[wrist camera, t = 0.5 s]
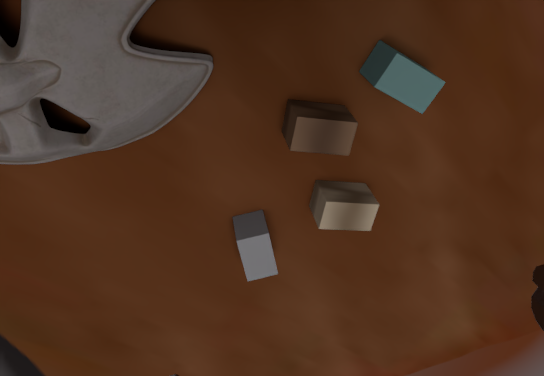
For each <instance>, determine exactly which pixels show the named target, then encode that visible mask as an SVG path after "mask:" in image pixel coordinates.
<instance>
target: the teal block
mask: <svg viewBox="0 0 544 376" xmlns="http://www.w3.org/2000/svg"><path fill="white" fill-rule="evenodd" d="M359 72H360V73H361V74H362V75H363V76H364V77H365V78H366V79H367V80H368V81H369V82H370V83H371V84H372V85H373V86H374V87H375V88H377V89H379V90H381V91H382V92H384V93H386V94H388V95H390V96H391V97H393V98H395V99H397V100H399V101H400V102H402V103H404V104H406V105H407V106H409V107H411V108H413V109H415V110H416V111H418V112H420V113H422V114H423V112H424V111H425V110H426V108H427V107H428V106H429V104H430V103H431V102H432V100H433V99H434V97H435V96H436V95H437V93H438V92H439V91H440V89H441V88H442V87H443V85H444V84H445V83H446V82H444V81H443V80H441V79H440V78H439V77H437V76H436V75H434V74H433V73H432V72H430V71H429V70H427V69H426V68H425V67H423V66H421V65H420V64H418V63H416V62H415V61H413V60H412V59H410V58H408V57H407V56H405V55H403V54H402V53H400V52H399V51H397V50H395V49H394V48H392V47H390V46H389V45H387V44H386V43H384V42H382V41H381V40H379V41H378V43H377V45H376V46H375V48H374V49H373V51H372V52H371V54H370V55H369V57H368V58H367V60H366V61H365V63H364V65H363V66H362V68H361V69H360V71H359Z"/></svg>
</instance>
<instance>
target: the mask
mask: <svg viewBox="0 0 544 376" xmlns="http://www.w3.org/2000/svg"><path fill="white" fill-rule="evenodd" d="M154 1H155V0H21V25H20V33H19V38H18V42H17V45H16V46H15V47H14V48H12V47H10V46H8V45H7V44H6V42H5V41H4V40H3V39H2V37H1V36H0V164H38V163H45V162H50V161H54V160H58V159H62V158H66V157H71V156H76V155H81V154H85V153H90V152H94V151H104V150H110V149H113V148H117V147H120V146H123V145H126V144H128V143H131V142H133V141H136V140H138V139H141V138H143V137H145V136H147V135H150V134H152V133H153V132H155V131H157V130H158V129H160V128H161V127H163V126H164V125H165V124H167V123H168V122H169V121H171V120H172V119H173V118H174V117H176V116H177V115H178V114H179V113H180V112H181V111H182V110H183V109H184V108H185V107H186V106H187V105H188V104H189V103H190V102H191V101H192V100H193V99H194V98H195V97H196V95H197V94H198V93H199V91H200V90H201V89H202V87H203V86H204V85H205V83H206V81H207V80H208V78H209V76H210V74H211V72H212V69H213V59H212V57H211V56H210V55H206V54H199V53H187V52H174V51H165V50H157V49H151V48H146V47H142V46H138V45H135V44H133V43H132V42H131V41H130V39H129V37H130V34H131V32H132V30H133V28H134V27H135V25H136V24H137V22H138V21H139V19H140V18H141V17H142V16H143V14H144V13H145V12H146V11H147V9H148V8H149V7H150V6H151V5H152V3H153V2H154ZM42 98H44V99H47V100H49V101H51V102H53V103H55V104H57V105H59V106H60V107H62V108H64V109H66V110H68V111H69V112H71V113H73V114H75V115H76V116H78V117H80V118H82V119H83V120H85V121H86V122H88V123H89V124H90V126H91V128H90V129H89V131H88V132H87V133H86V134H77V133H70V132H64V131H59V130H55V129H53V128H51V127H49V125H48V123H47V121H46V119H45V116H44V114H43V111H42V108H41V105H40V100H41V99H42Z"/></svg>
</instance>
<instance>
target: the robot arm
mask: <svg viewBox="0 0 544 376" xmlns="http://www.w3.org/2000/svg"><path fill="white" fill-rule="evenodd" d="M532 281H533V282H534V283H535V284H536V285H537V286H538V288H537V289H536V291H535V292H534V294H533V295H532V297H531V308H532V311H533V314H534V317H535V319H536V321H537V323H538V324H539V326H540V327H541V329H542V330H543V331H544V264H543V265H540V266H537V267H536V268H535V270H534V271H533V280H532ZM171 376H179V375H177V374H175V375H171Z"/></svg>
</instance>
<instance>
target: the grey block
mask: <svg viewBox="0 0 544 376" xmlns="http://www.w3.org/2000/svg"><path fill="white" fill-rule="evenodd" d="M233 223H234V229H235V235H236V241H237V245H238V248H239V252H240V255H241V259H242V263H243V266H244V270H245V273H246V277H247V280H248V281H251V280H255V279H259V278H263V277H267V276H272V275H276V274H278V272H277V267H276V263H275V258H274V254H273V250H272V245H271V241H270V236H269V232H268V228H267V225H266V221H265V217H264V213H263V210H259V211H255V212H251V213H247V214H243V215H238V216H234V217H233Z"/></svg>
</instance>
